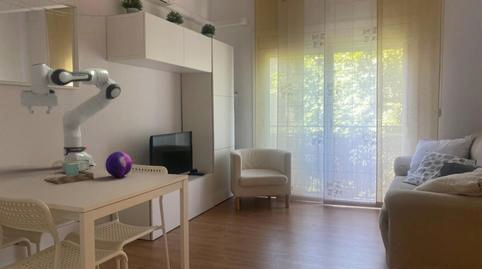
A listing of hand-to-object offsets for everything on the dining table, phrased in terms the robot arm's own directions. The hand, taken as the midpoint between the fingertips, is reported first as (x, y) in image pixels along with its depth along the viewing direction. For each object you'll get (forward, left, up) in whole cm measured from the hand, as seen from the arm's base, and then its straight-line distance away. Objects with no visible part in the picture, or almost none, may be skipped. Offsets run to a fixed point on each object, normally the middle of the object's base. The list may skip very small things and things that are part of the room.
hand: (39, 113), depth 219 cm
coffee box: (-14, +6, -34) cm, 37 cm away
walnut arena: (-3, +29, -37) cm, 47 cm away
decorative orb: (-26, +42, -37) cm, 62 cm away
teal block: (-4, +30, -36) cm, 47 cm away
